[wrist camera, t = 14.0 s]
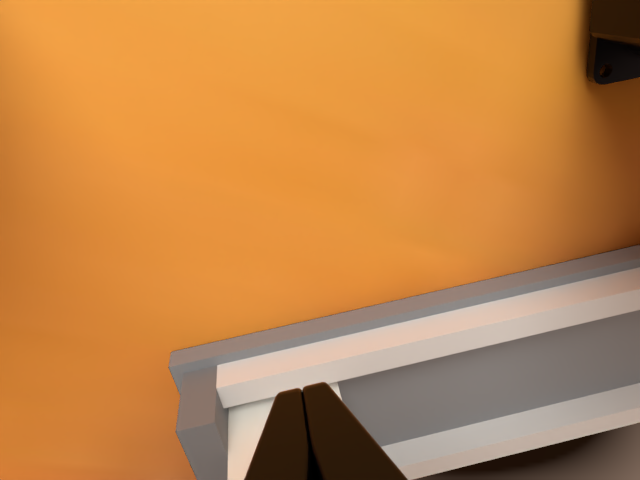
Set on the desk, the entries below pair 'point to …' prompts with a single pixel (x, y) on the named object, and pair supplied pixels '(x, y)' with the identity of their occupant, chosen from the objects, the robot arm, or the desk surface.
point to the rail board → (443, 367)
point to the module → (248, 432)
